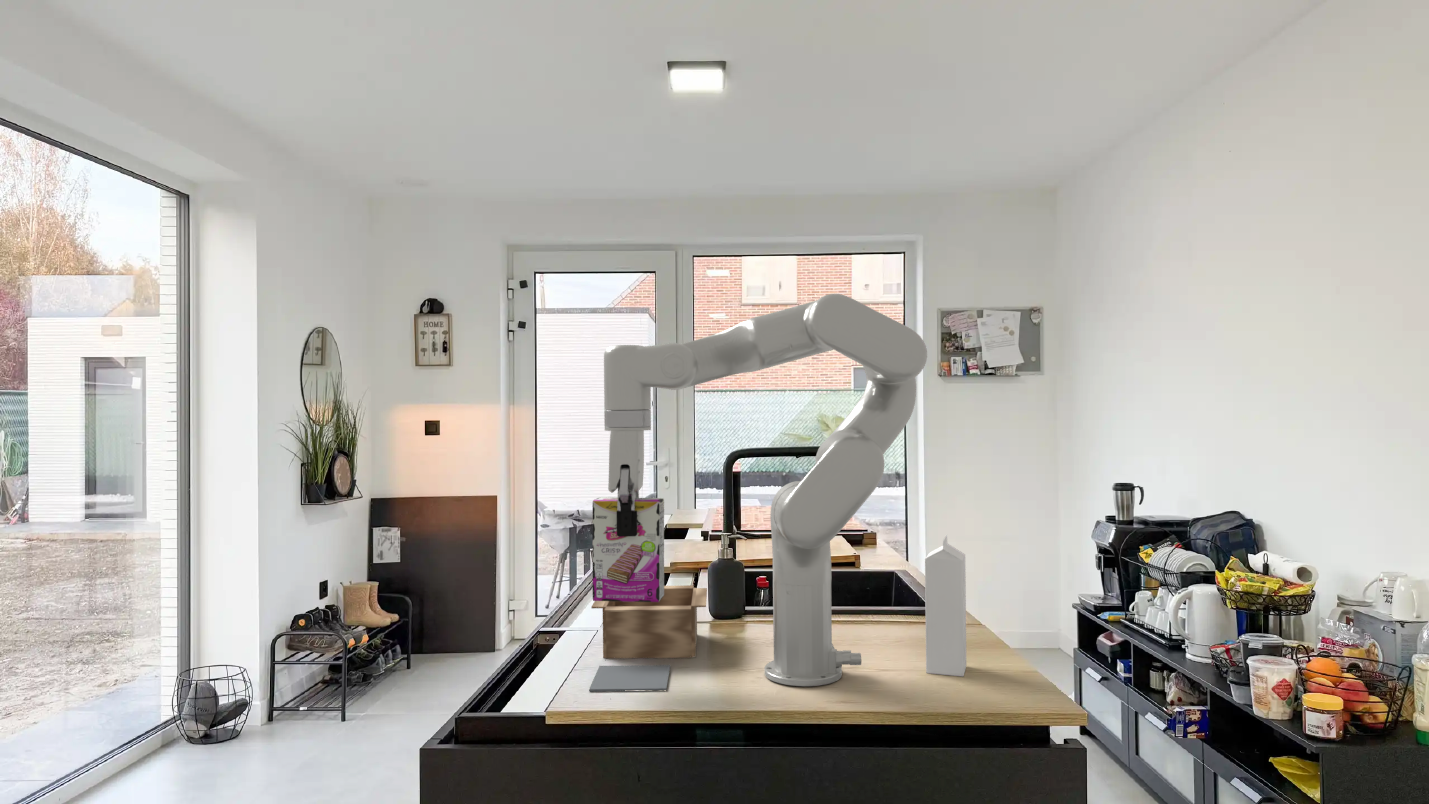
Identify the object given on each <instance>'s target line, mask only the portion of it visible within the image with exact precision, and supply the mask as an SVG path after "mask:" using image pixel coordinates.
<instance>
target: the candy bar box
mask: <svg viewBox="0 0 1429 804" xmlns="http://www.w3.org/2000/svg"><path fill="white" fill-rule="evenodd" d="M617 502H618V496H617V497H615V496H614V497H610V496H608V497H603V496H601V497H597V498H594V499H593V500H592V506H591V507H592V602H595V601H622V602H660V600H661V599H662V598H663V596H664V586H665V498H664V497H663V498H662V497H639V498H635V511H637V535H636V536H617Z"/></svg>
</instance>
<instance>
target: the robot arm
mask: <svg viewBox="0 0 1429 804" xmlns="http://www.w3.org/2000/svg"><path fill="white" fill-rule="evenodd" d="M833 350H834V351H836V352H838V353H840V354H841V355H843V356H844V357H846V358H848V359H850V360H852V361H854V362H856V363H858V364H860V365H861V366H862V367H863V370H864V373H865V377H866V383H865V384H866V386H865V389H864V392H863V393H862V395H861V397H860V399H859V400H858V401H857V402H856V404H855V405H854V407H853V408H852V409H851V411H850V412H849V413H848V414H847V415H846V417H845V418H844V419H843V420H842V421H841V422H840V423H839V425H838V426H837V427H836V428H835V429H834V430H833V432H831V434H829V435H828V437H827V438H826V439H825V440H824V441H823V442H822V443H821V444H820V446H819V447H818V449H817V452H816V455H815V464H814V465H813V467H812V468H811V469H810V470H809V471H808V472H807V473H806V475H805V476H804V477H803V478H802V480H794V481H792V482H788V483H786V484H784V486H782V487H781V488H779V489H778V491H777V492H776V493H775V495H774V497H773V499H772V502H771V504H770V505H771V506H770V531H771V533H770V534H771V547H772V548H771V549H772V597H773V598H772V607H773V609H772V613H773V616H772V619H773V623H772V624H773V625H772V626H773V660H771V661H768V663H767V664H766V665H764V670H763V671H764V676H765V677H766V678H767V679H768V680H770V681H772V682H774V683H777V684H781V685H787V686H791V687H795V686H796V687H816V686H824V685H830V684H832V683H835V682H837V681H839V680H840V679H841V678H842V676H843V672H842V671H843V668H842V667H843V665H845V666H846V665H847V666H861V665H862V654H861V653H860V652H852V650H850V649H847V650H846V649H845V650H838V649H836V648H835V647H834V644H833V641H832V640H833V638H832V637H833V636H832V635H833V634H832V633H833V632H832V630H833V629H832V623H833V621H832V620H833V619H832V618H833V617H832V556H831V555H832V552H831V551H832V550H831V541H832V540H833V539H834V538H835V537H836V536H837V535H838V534H839V533H840V532H841V530H842V529H843V528H844V527H845V526H846V525H847V524H848V522H849V521H850V520H851V518H853V517H854V515H855V514H856V513H857V512H858V511H859V509H860V508H861V507H862V506H863V505H864V504H865V502H867V500H868V499H869V498H870V497H871V495H872V494H873V493H874V492H875V490H876V488H877V487H878V485H879V484H880V482H881V480H882V478H883V474H884V470H885V458H884V454H885V453H886V451H888V449H889V448H890V447H891V445H892V444H893V443H894V442H895V440H896V439H897V437H898V436H899V435H900V434H901V433H902V431H903V430H904V429H905V427H906V426H907V424H908V422H909V421H910V419H911V417H912V414H913V412H914V408H915V405H916V399H917V398H916V397H917V380H916V377H917V376H918V375H919V374H921V372H922V371H923V369H924V368H925V366H926V364H927V360H928V349H927V345H926V344H925V341H924V339H923V338H922V337H921V336H920V334H918V333H917V332H916V331H915V330H913V329H912V328H911V327H909V326H907V325H905V324H902V323H901V322H899V321H897V320H895V319H892V318H890V317H889V316H887V315H885V314H883V313H881V312H879V311H877V310H875V309H873V308H871V307H869V306H867V305H866V304H863V303H861V302H860V301H858V300H856V299H854V298H852V297H849V296H848V295H844V294H840V293H830V294H825V295H824V296H821V297H820V298H818V299H816V300H813V301H811V302H807V303H806V302H805V303H803V304H799V305H796V306H794V307H790V308H785V309H781V310H778V311H774V312H771V313H767V314H763V315H759V316H755V317H751V318H749V319H746V320H743V321H741V322H739V323H737V324H736V325H734V326H732V327H730V328H728V329H726V330H724V331H721V332H718V333H715V334H712V335H709V336H705V337H702V338H698V339H695V340H691V341H687V342H684V343H679V342H669V343H663V344H662V343H661V344H654V345H644V346H643V345H639V344H638V345H637V344H617V345H612V346H611V345H610V346H608V347H607V348H606V349H605V351H604V353H603V388H604V389H603V391H604V392H603V396H604V397H603V398H604V400H603V402H604V404H603V405H604V408H603V409H604V413H603V414H604V417H603V419H604V431H605V432H606V431H607V432H610V433H609V444H608V445H609V446H608V447H609V449H608V488H607V489H608V491H609V493H615V491H617V497H618V502H617V536H636V535H637V511H635V498H640V490H641V489H642V488H643V486H644V475H645V474H644V469H645V468H644V467H645V431H651V430H652V410H651V408H652V405H651V404H652V403H651V402H652V401H651V400H652V398H651V397H652V395H651V388H656V389H657V388H658V389H663V390H664V389H665V390H671V391H679V390H683V389H687V388H690V387H693V386H697V385H701V384H704V383H707V382H708V383H709V382H711V381H715V380H719V379H722V378H726V377H729V376H734V375H738V374H743V373H744V374H746V373H753V372H757V371H761V370H764V369H769V368H773V367H776V366H779V365H780V366H781V365H784V364H786V363H790V362H794V361H798V360H801V359H804V358H809V357H812V356H816V355H819V354H823V353H826V352H830V351H833Z"/></svg>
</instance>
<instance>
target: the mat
mask: <svg viewBox="0 0 1429 804" xmlns="http://www.w3.org/2000/svg"><path fill="white" fill-rule="evenodd" d="M669 671H670V672H671V664H644V665H643V664H641V665H639V664H638V665H637V664H635V665H632V664H629V665H599V666H598V668H597V670H596V673H595V674H594V677H593V680H592V682H591V684H590V686H589V689H588V692H589V691H590V692H589V693H597V692H598V691H600V692H598V693H602V692H603V691H605V692H606V691H621V692H626V691H625V690H666V691H667V688H668V682H669V677H670V676H669V675H670V672H669ZM593 691H595V692H593ZM605 692H604V693H605ZM606 693H607V692H606Z"/></svg>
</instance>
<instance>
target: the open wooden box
mask: <svg viewBox="0 0 1429 804" xmlns="http://www.w3.org/2000/svg"><path fill="white" fill-rule="evenodd" d="M694 586H695V585H692V584H691V585H664V596H663V598H662V599H661V600H660V602H622V601H593V603H592V605H591V609H602V657H603V659H612V660H613V659H671V658H672V659H673V658H674V659H675V658H676V659H677V658H679V659H680V658H681V659H682V658H683V659H684V658H685V659H686V658H688V659H689V658H690V659H691V658H696V654H697V653H696V652H697V638H698V611H697V610H698V608H707V594H708V588H706V587H699V588H698V587H694Z"/></svg>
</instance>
